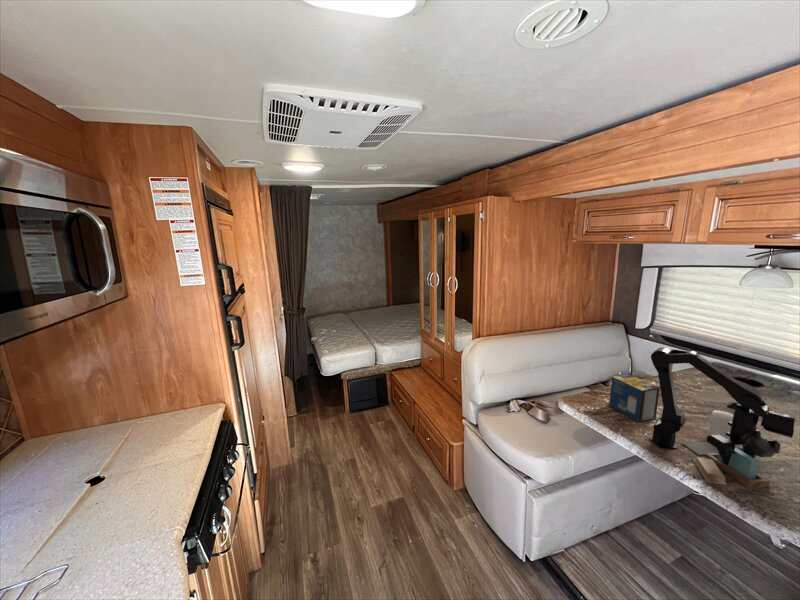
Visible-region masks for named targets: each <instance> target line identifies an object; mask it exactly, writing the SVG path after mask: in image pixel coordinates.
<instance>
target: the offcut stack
mask: <svg viewBox="0 0 800 600" xmlns="http://www.w3.org/2000/svg"><path fill="white" fill-rule="evenodd" d="M692 460H693V462H694V464H695V465H696V467H697V468H698V470H699V472H700V473H701V475H702V477H703V478H704V480H705V481H706V480H707V481H706V482H709V481H711V482H710V483H713V482H715V483H714V484H718V483H719V485H722V484H723V486H727V483H726V477H725V475H724V474H723V472H722V471H721V469H720V468H719V467H717V466H716V464H715V463H714V462H713V460H711V459H706V458H705V457H702V456H698V455H697V456H696V457H694V459H692Z"/></svg>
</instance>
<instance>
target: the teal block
mask: <svg viewBox="0 0 800 600" xmlns="http://www.w3.org/2000/svg"><path fill="white" fill-rule="evenodd" d="M734 451H736V452H737V453H733V454H732V455H731V458H730V461H729V463H728V465H727V466H729V467H730V468H732V469H734V470H735V471H737V472H738V473H740V474H741V475H743V476H744V477H746V478H747V479H749V480H751V479H755V477H756V473H757V472H758V466H759V461H760V460H758V459H756V458H753V457H751V456H749V455H747V454H746V453H744V452H743V450H742V449H740V448H736V447H735V450H734ZM717 459H718V460H720V461H721V462H723V461H722V458H721V456H720V454H719V452H718V458H717Z"/></svg>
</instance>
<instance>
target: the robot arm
mask: <svg viewBox="0 0 800 600" xmlns="http://www.w3.org/2000/svg"><path fill="white" fill-rule="evenodd" d="M650 360H651V361H652V364H653V367H654V369H655V370H656V372H657V375H658V381H659V387H660V395H661V400H662V413H661V417H659V418H658V419H657V421H656V422H655V423H654V425H653V432H652V437H648V440H649V441H650V442H652V443H654V444H655V445H656V446H657V447H658V448H660V450H661V449H662V450H665V449H666V450H668V449H670V450H671V449H673V450H674V449H678V446H677V445H675V444H676V443H675V442H676V438H677V437H676V433H678V432H680V431H681V429H682V427H684V425H685V423H686V422H687V419H686V418H685V410H680V408H679V406H678V404H677V403H678V402H677V397H676V390H675V385H674V378H673V372H672V371H673V366H674V365H675V364H676V365H677V364H689V365H691V366H692V367H693V368H695V369H696V370H698V371H699V372H701V373H702V374H704V375H705V376H707V377H708V378H709V379H711V380H712V381H714V382H715V383H716V384H717V385H719V386H720V387H722V388H723V389H724V390H725V391H726V392H727V394H729V396H730V397H731V398H732V399H733V401H730V402H728V403H727V404H726V408H727V409H731V410H733V413H732V414H733V419H732V422H728V425H730V426H731V429H730V432H726V435H727V436H729V437H730V439H726V438H724V437H723V436H721V435H709V436H708V435H707V436H706V442H708V443H710V444H712V445H713V446H715V447H716V448H717V450H718V452H719V454H720V456H721V458H722V461H723V463H724V464H726V465H728V463H729V461H730V458H731V455H732V454H733V453H737V452H736V451H734V450H735V446H742V445H743V448H742V452H744V453H746V454H747V455H749V456H751V457H753V458H754V459H756V457H758V458H765V457H766V458H768V457H769V458H772V457H773V456H774V455H775V454H780V450H781V443H780V442H778V440H772V439H770V438H768V437H766V436H764V435H762V433H761V430H760V429H758V428H757V427H758V424H759V419H760V418H761V422H760V426H761V427H762V428H763V430H765V431H767V432H770V433H773V434H777V435H779V436H784V437H787V438H789V439H790V438H791V439H793V436H794V433H795V432H794V431H795V421H796V417H795V416H794V415H789V414H784V413H780V412H776V411H772V410H770V407H769V406H768V405H767V403H766V402H765V401H764V400H763V399H764V398H763V397H764V396H763V393H762V392H761V391H760V390H759V389H758V388H757V387H754V386H751V385H750V384H748V383H746V382H743V381H740V380H737V379H735V378H734V377H732V376H731V375H730V374H728V373H727V372H725V371H723V370H722V369H721V368H719V367H717V365H715V364H713V363H711V362H710V361H708V360H707V359H706V358H704V357H702V356H701V355H700V354H699V352H696V351H694V350H683V349H681V350H680V349H670V348H668V347H663V346H662V347H658V348H657V349H656V350H654V351H653V352H651V355H650Z"/></svg>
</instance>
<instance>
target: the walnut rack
mask: <svg viewBox="0 0 800 600" xmlns="http://www.w3.org/2000/svg"><path fill="white" fill-rule="evenodd" d="M704 458H706V459H711V460H713V462H714V463H715V464H716V466H717V467H718V468H719V470H722V471H723V472H724V473H726V474H727V475H729V476H730V477H732V478H733V479H735V480H737V481H738V482H739V483H741V484H742V485H744V486H745V487H747V488H758V487H759V488H760V487H761V488H764V487H766V488H767V487H769V486H770V483H771V482H770V480H769V479H767V478H766V477H764V476H762V475H761V474H759V473H757V472H756V477H755V479H751V480H749V479H747V478H746V477H744V476H743V475H741V474H740V473H738V472H737V471H735V470H734V469H732V468H730V467H729V466H727V465H726V464H724V463H723V462H721V461H720V460H718V459H717V458H718V453H706V454H705V455H704Z"/></svg>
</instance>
